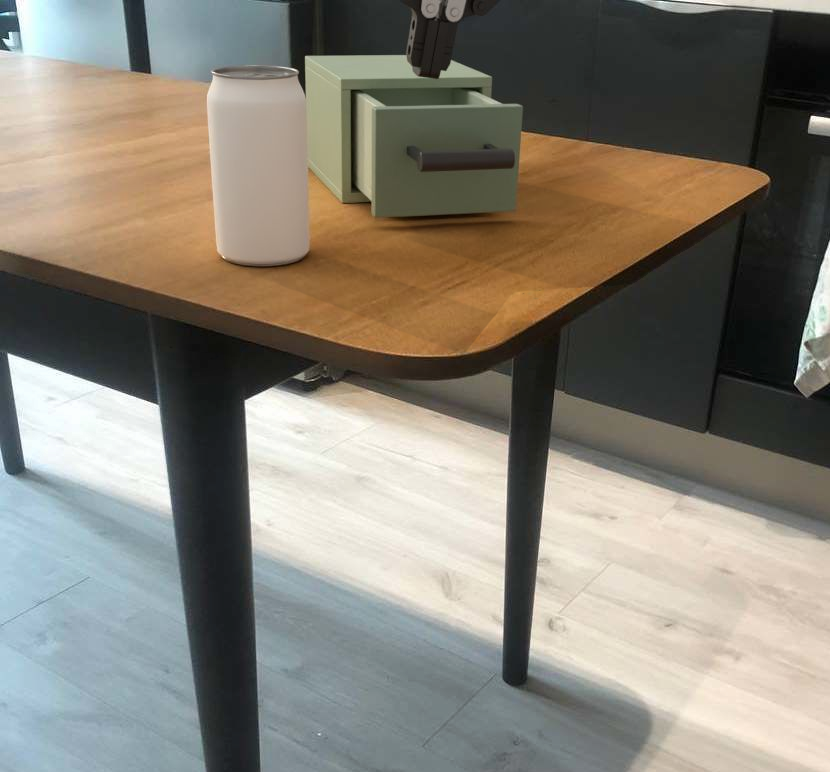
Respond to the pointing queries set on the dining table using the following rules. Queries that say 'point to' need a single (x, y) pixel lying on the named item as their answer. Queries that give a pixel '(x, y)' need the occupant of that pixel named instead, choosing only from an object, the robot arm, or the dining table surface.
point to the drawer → (434, 151)
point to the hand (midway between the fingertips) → (425, 74)
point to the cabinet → (333, 106)
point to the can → (259, 164)
